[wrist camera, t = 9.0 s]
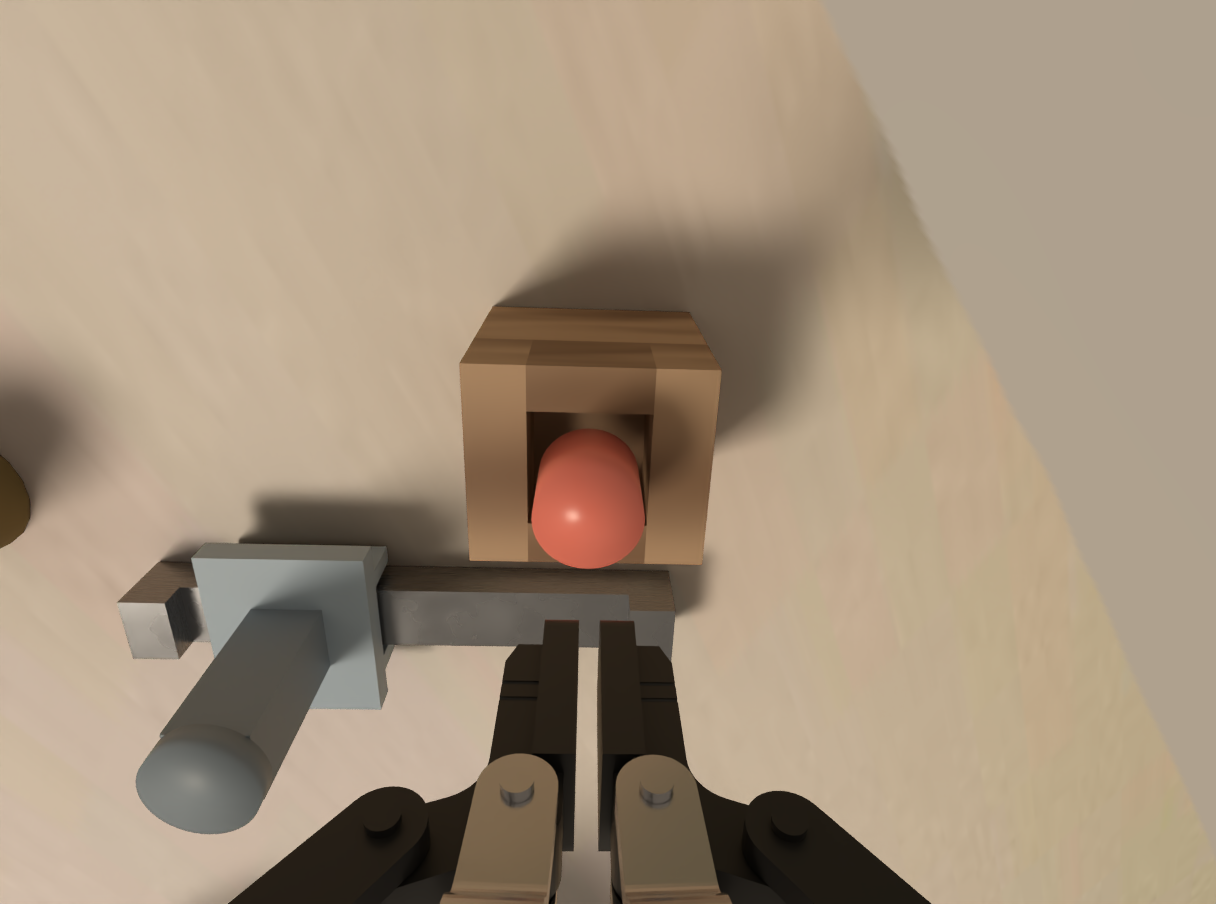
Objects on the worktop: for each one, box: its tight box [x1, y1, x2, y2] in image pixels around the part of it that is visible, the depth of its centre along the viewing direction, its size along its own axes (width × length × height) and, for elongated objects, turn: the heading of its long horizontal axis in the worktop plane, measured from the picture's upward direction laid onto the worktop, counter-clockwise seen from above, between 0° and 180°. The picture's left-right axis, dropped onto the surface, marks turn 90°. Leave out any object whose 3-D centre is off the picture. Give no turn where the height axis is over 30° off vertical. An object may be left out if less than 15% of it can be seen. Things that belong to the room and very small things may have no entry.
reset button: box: [531, 428, 645, 569], centre depth 21 cm, size 3×3×3 cm
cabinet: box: [459, 306, 722, 565], centre depth 27 cm, size 7×8×8 cm
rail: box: [117, 562, 675, 661], centre depth 33 cm, size 3×24×3 cm, turn 88°
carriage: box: [136, 543, 395, 834], centre depth 29 cm, size 8×7×11 cm
